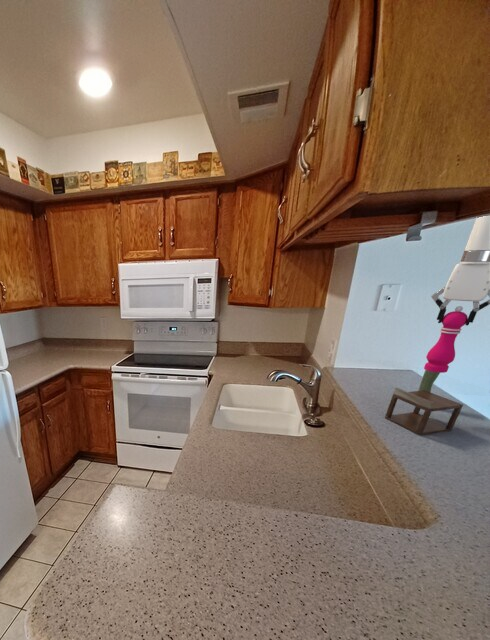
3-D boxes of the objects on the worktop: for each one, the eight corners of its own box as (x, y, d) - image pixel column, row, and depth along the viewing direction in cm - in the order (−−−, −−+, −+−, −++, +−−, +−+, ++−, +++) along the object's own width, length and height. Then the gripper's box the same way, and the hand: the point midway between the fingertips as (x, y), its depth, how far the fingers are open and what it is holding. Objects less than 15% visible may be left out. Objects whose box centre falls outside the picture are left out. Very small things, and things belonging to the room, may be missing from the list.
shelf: (414, 414, 116) (426, 384, 110) (451, 430, 104) (466, 398, 99) (384, 418, 113) (395, 387, 108) (418, 435, 102) (432, 402, 96)
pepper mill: (447, 374, 104) (474, 308, 95) (420, 370, 108) (443, 306, 99) (450, 369, 109) (476, 305, 99) (423, 365, 113) (446, 303, 104)
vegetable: (412, 404, 123) (433, 351, 113) (412, 401, 126) (432, 349, 116) (427, 407, 120) (449, 353, 111) (426, 403, 124) (448, 350, 114)
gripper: (520, 257, 90) (490, 325, 99) (442, 258, 101) (421, 319, 109) (521, 257, 85) (489, 328, 94) (439, 258, 96) (417, 322, 104)
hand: (453, 323), depth 101 cm, fingers closed on pepper mill, 6 cm apart
